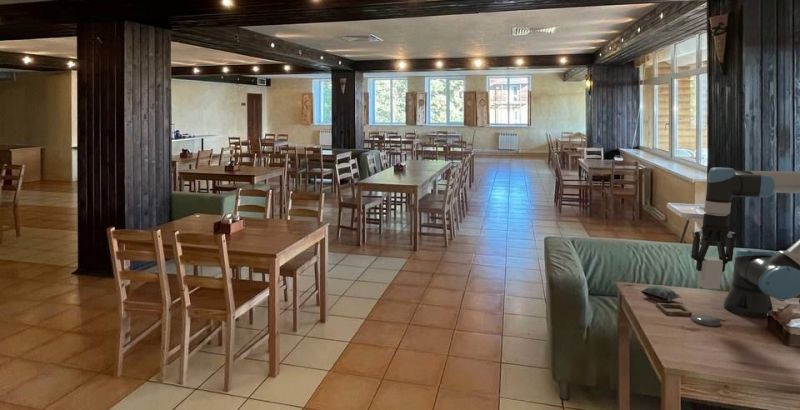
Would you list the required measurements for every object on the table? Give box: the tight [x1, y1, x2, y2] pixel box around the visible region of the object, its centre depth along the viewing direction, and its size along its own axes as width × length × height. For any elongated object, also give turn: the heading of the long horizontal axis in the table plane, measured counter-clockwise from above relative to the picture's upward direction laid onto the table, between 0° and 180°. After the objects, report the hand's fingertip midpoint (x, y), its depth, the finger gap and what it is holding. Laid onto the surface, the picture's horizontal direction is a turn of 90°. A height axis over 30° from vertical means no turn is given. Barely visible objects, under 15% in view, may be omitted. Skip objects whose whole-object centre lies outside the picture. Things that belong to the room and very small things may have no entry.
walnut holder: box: [655, 302, 693, 317], centre depth 194 cm, size 9×9×1 cm
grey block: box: [697, 255, 723, 290], centre depth 182 cm, size 5×5×10 cm
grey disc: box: [690, 313, 721, 327], centre depth 185 cm, size 9×9×1 cm
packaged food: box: [640, 284, 683, 303], centre depth 206 cm, size 9×12×5 cm
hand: (709, 280), depth 183 cm, fingers closed on grey block, 5 cm apart
